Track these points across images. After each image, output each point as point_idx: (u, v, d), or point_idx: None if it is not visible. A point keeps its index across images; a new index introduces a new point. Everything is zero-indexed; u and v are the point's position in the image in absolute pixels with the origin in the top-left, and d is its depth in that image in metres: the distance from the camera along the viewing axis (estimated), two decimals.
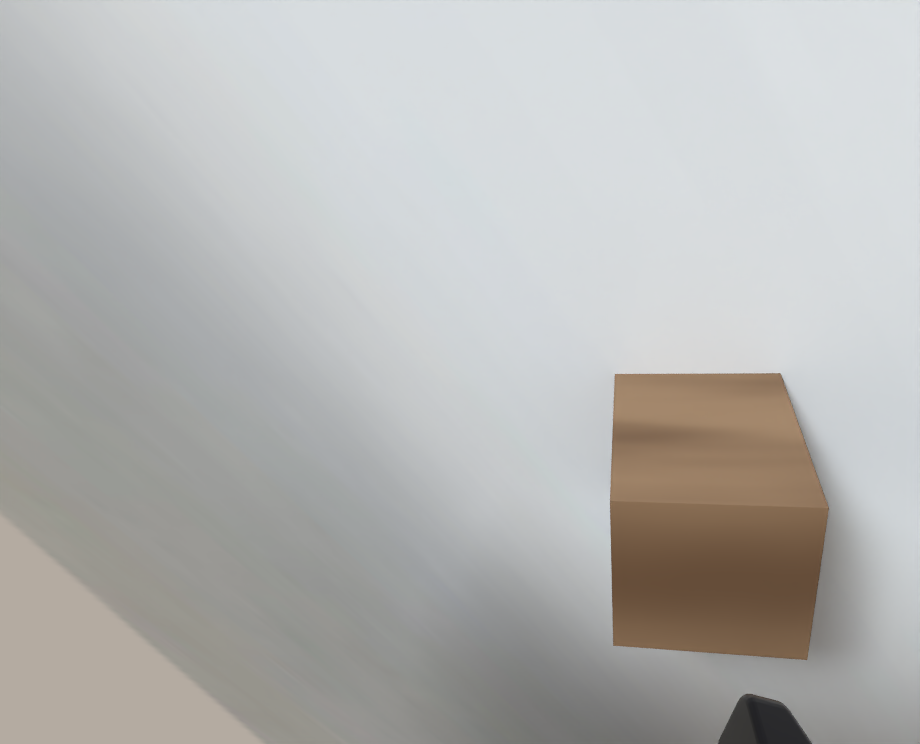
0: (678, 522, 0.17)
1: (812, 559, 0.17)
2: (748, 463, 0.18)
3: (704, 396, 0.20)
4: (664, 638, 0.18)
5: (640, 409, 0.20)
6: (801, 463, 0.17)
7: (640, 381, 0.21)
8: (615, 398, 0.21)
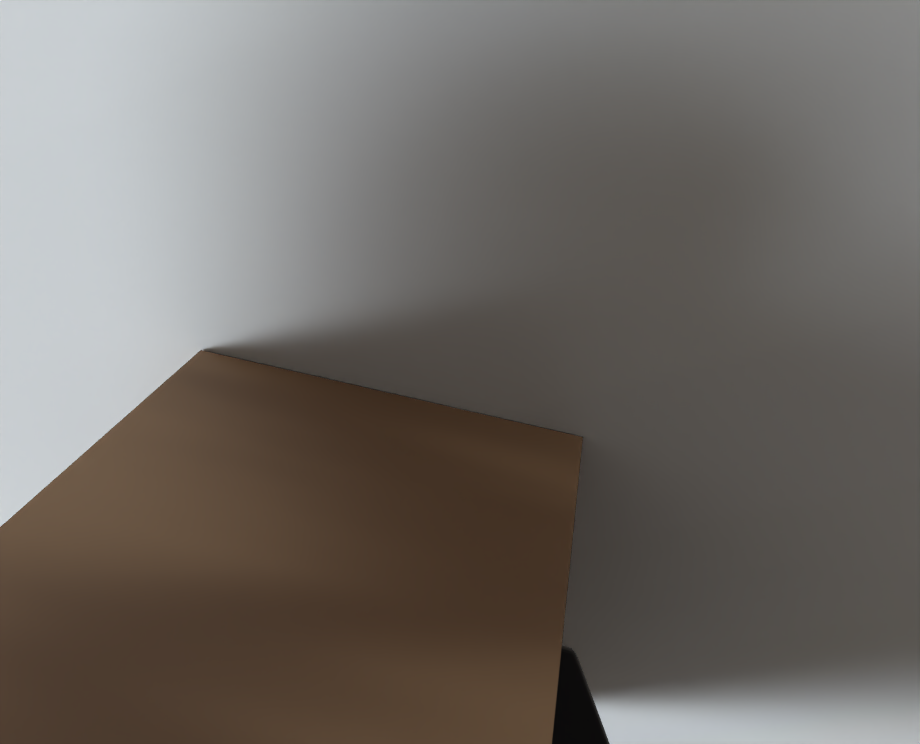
0: None
1: None
2: None
3: None
4: None
5: None
6: None
7: None
8: None
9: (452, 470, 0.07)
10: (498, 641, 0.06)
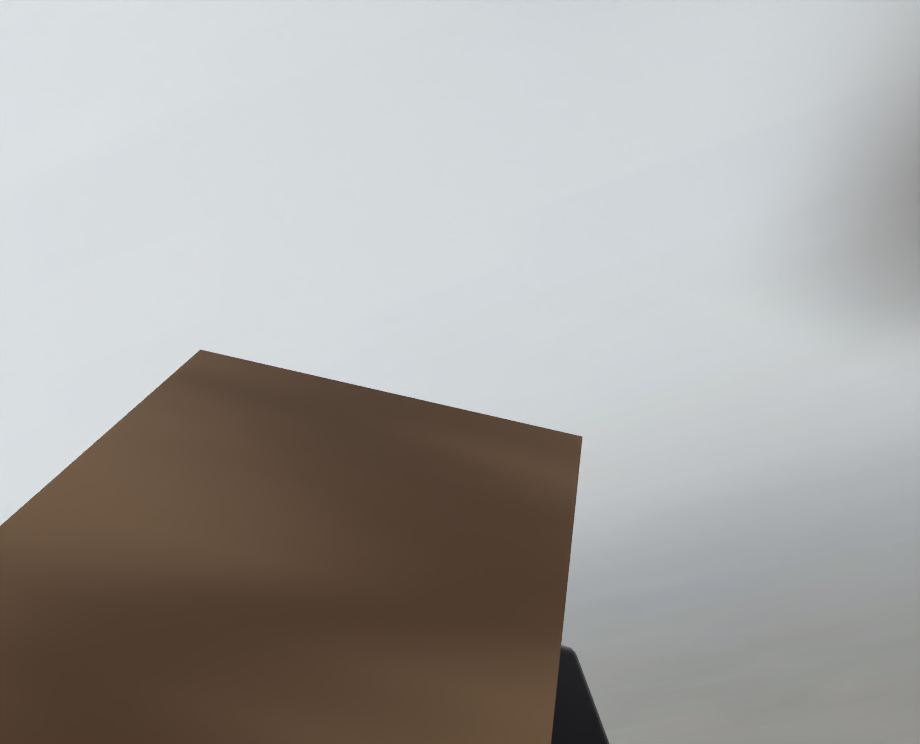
0: None
1: None
2: None
3: None
4: None
5: None
6: None
7: None
8: None
9: (452, 470, 0.07)
10: (498, 643, 0.06)
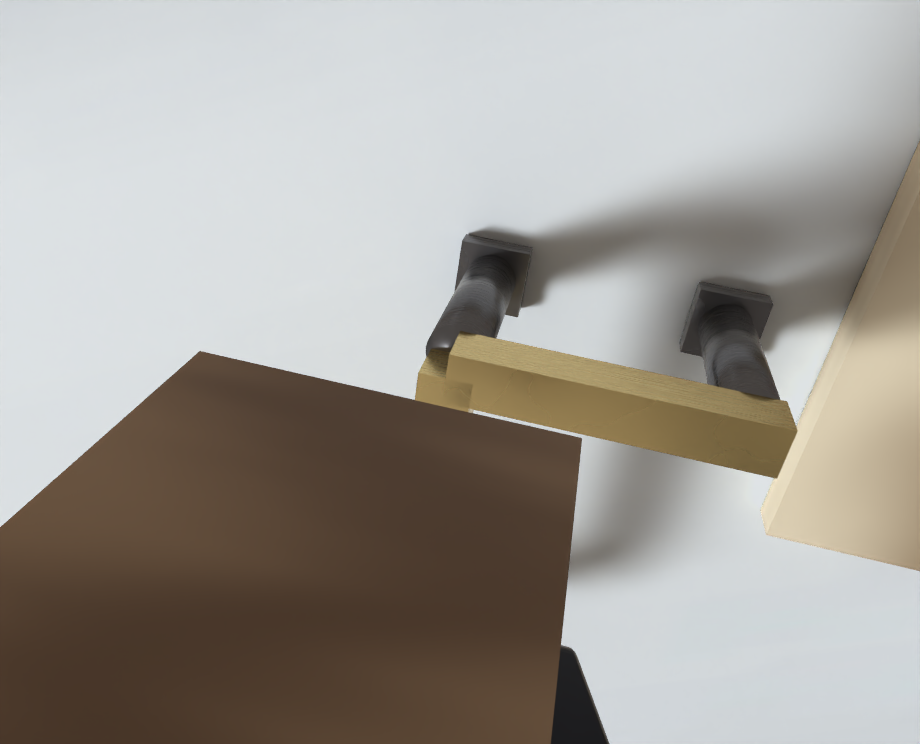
0: None
1: None
2: None
3: None
4: None
5: None
6: None
7: None
8: None
9: (451, 471, 0.07)
10: (497, 644, 0.06)
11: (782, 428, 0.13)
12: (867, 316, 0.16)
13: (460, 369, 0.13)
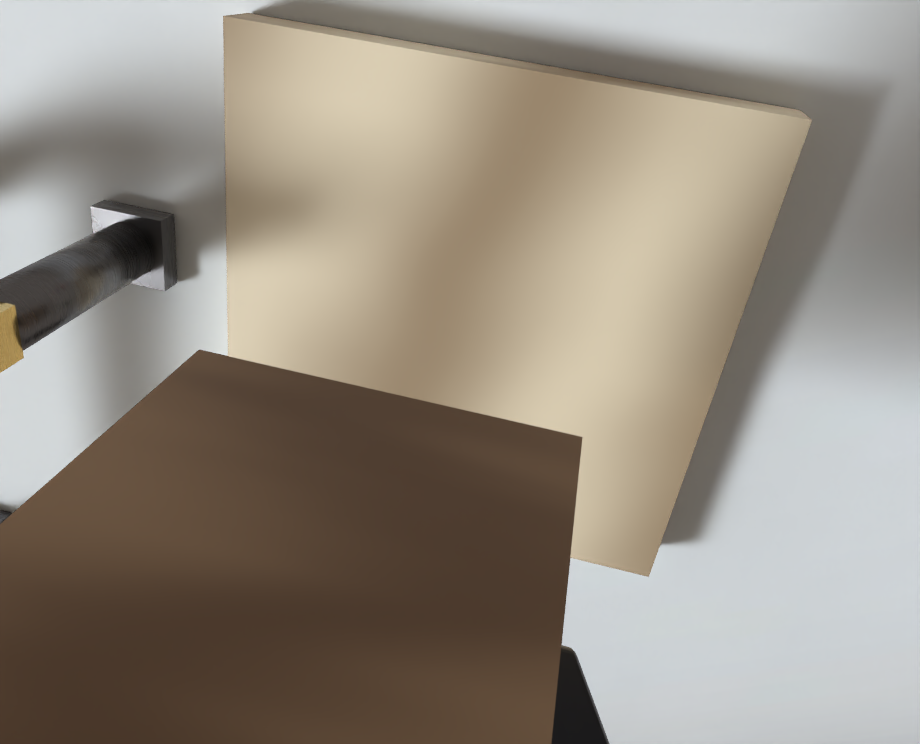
0: None
1: None
2: None
3: None
4: None
5: None
6: None
7: None
8: None
9: (451, 470, 0.07)
10: (497, 644, 0.06)
11: None
12: (230, 229, 0.15)
13: None
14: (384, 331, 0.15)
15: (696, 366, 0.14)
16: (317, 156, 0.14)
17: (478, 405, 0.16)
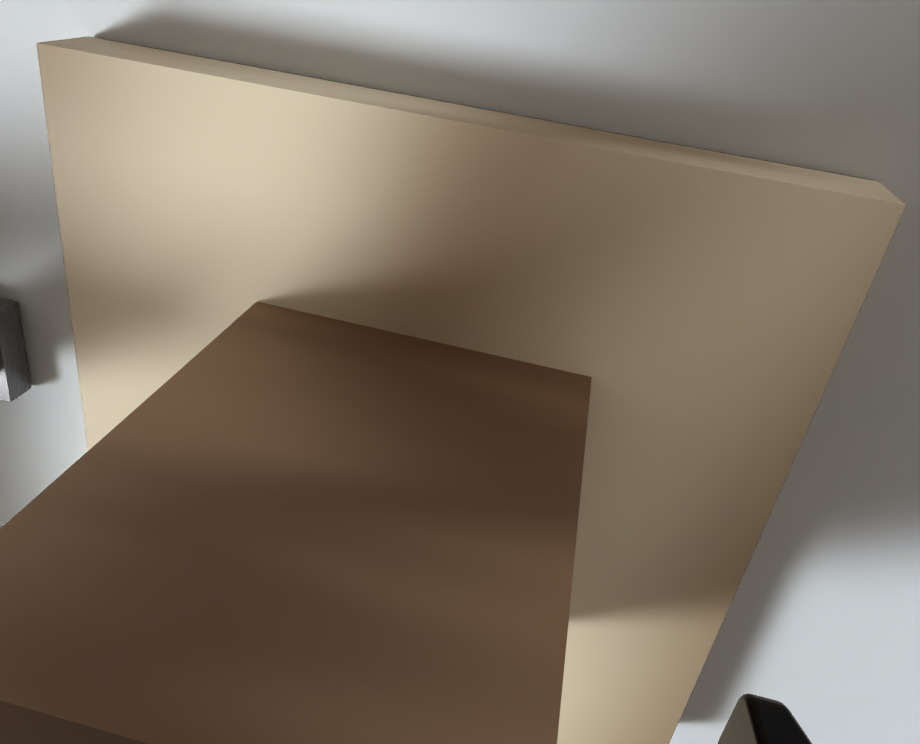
0: None
1: (58, 733, 0.05)
2: None
3: None
4: None
5: None
6: None
7: None
8: None
9: (480, 399, 0.09)
10: (525, 523, 0.07)
11: None
12: (78, 333, 0.11)
13: None
14: None
15: (723, 531, 0.10)
16: (186, 240, 0.10)
17: None
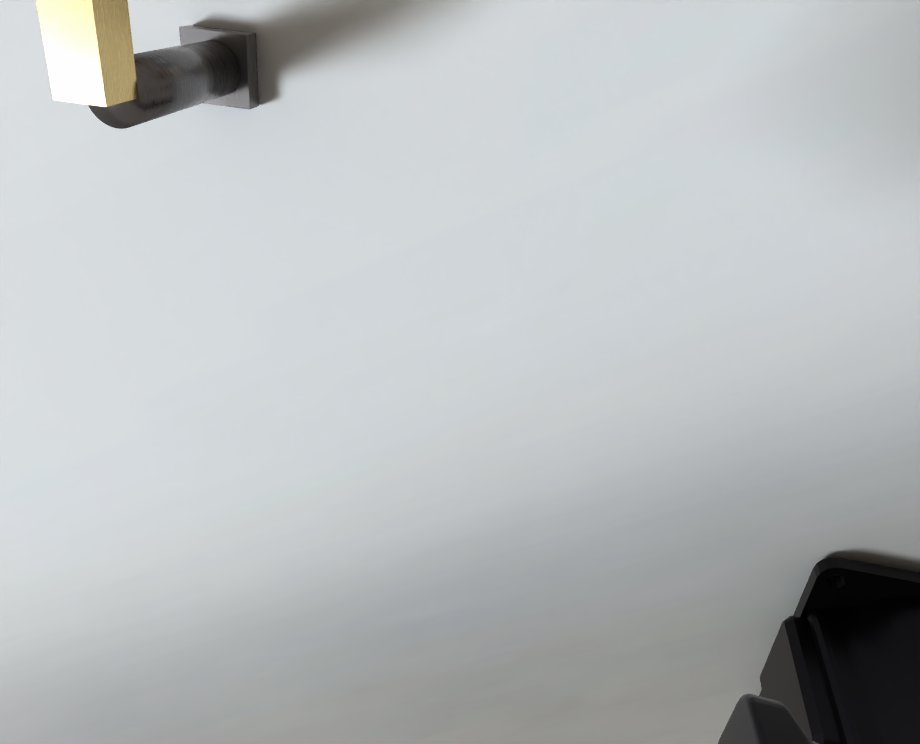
0: None
1: None
2: None
3: None
4: None
5: None
6: None
7: None
8: None
9: None
10: None
11: None
12: None
13: None
14: None
15: None
16: None
17: None
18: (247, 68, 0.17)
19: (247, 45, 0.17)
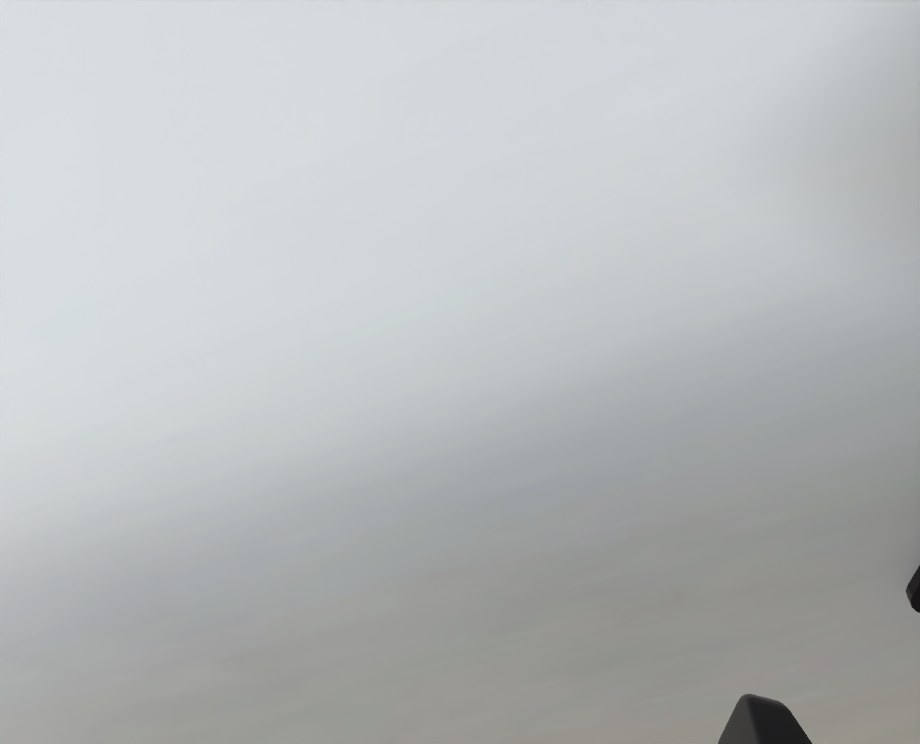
0: None
1: None
2: None
3: None
4: None
5: None
6: None
7: None
8: None
9: None
10: None
11: None
12: None
13: None
14: None
15: None
16: None
17: None
18: None
19: None
